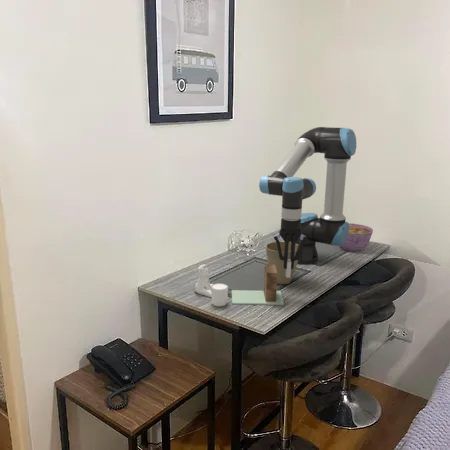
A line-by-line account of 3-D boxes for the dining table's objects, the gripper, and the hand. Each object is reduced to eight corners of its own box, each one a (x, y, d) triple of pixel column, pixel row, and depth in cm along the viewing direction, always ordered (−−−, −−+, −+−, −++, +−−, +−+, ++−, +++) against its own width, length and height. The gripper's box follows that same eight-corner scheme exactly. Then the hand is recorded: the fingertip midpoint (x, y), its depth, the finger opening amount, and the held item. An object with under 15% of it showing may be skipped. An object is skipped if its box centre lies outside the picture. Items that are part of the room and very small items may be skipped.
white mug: (228, 306, 173) (229, 289, 171) (210, 307, 173) (211, 290, 171) (227, 299, 180) (227, 282, 178) (210, 299, 179) (210, 283, 177)
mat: (280, 292, 187) (280, 290, 187) (284, 304, 176) (284, 303, 175) (231, 291, 187) (231, 290, 187) (232, 304, 175) (232, 302, 175)
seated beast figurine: (213, 298, 181) (213, 269, 178) (191, 296, 182) (191, 268, 179) (217, 288, 190) (217, 261, 187) (197, 287, 191) (197, 260, 188)
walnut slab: (273, 292, 185) (274, 264, 182) (276, 301, 177) (277, 272, 174) (263, 292, 185) (264, 264, 182) (265, 301, 177) (266, 272, 174)
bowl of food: (363, 243, 253) (365, 223, 250) (376, 255, 234) (378, 233, 230) (328, 243, 252) (329, 223, 249) (338, 255, 233) (339, 233, 230)
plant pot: (291, 273, 207) (293, 240, 203) (303, 286, 193) (306, 250, 189) (260, 275, 204) (261, 242, 200) (270, 288, 190) (271, 252, 186)
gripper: (306, 216, 176) (302, 273, 182) (272, 215, 176) (270, 272, 182) (310, 221, 169) (306, 280, 175) (275, 220, 169) (272, 279, 175)
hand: (287, 276), depth 179 cm, fingers closed
